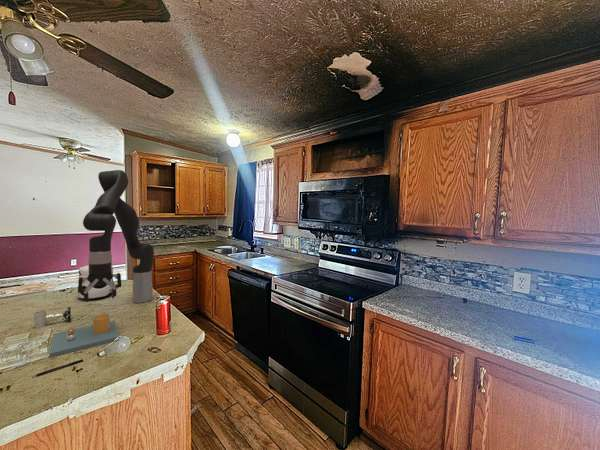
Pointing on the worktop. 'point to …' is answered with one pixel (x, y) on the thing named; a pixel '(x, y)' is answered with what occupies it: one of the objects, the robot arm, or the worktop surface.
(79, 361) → the black thin rod
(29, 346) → the worktop surface
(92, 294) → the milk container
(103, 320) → the cap
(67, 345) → the board
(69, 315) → the valve
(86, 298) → the robot arm
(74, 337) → the peg
